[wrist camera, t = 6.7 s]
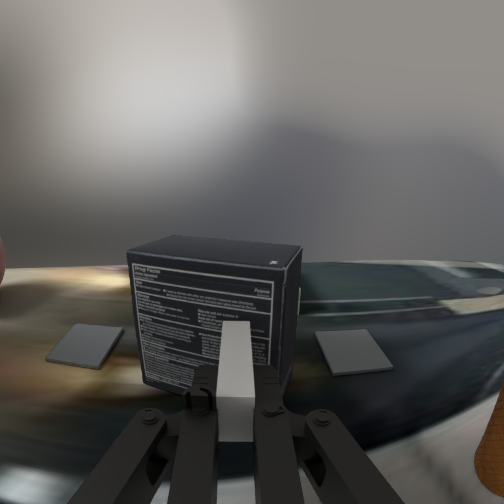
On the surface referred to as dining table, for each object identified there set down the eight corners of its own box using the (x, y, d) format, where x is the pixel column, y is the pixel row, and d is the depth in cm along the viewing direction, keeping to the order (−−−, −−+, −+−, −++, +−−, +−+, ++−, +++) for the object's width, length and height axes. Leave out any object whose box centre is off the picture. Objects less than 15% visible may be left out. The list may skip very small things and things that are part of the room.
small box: (295, 368, 25) (306, 242, 22) (277, 420, 19) (290, 270, 16) (179, 345, 28) (172, 230, 25) (139, 384, 22) (121, 249, 19)
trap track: (46, 360, 23) (37, 331, 22) (124, 274, 46) (123, 254, 45) (392, 369, 24) (400, 339, 23) (325, 277, 47) (326, 258, 47)
